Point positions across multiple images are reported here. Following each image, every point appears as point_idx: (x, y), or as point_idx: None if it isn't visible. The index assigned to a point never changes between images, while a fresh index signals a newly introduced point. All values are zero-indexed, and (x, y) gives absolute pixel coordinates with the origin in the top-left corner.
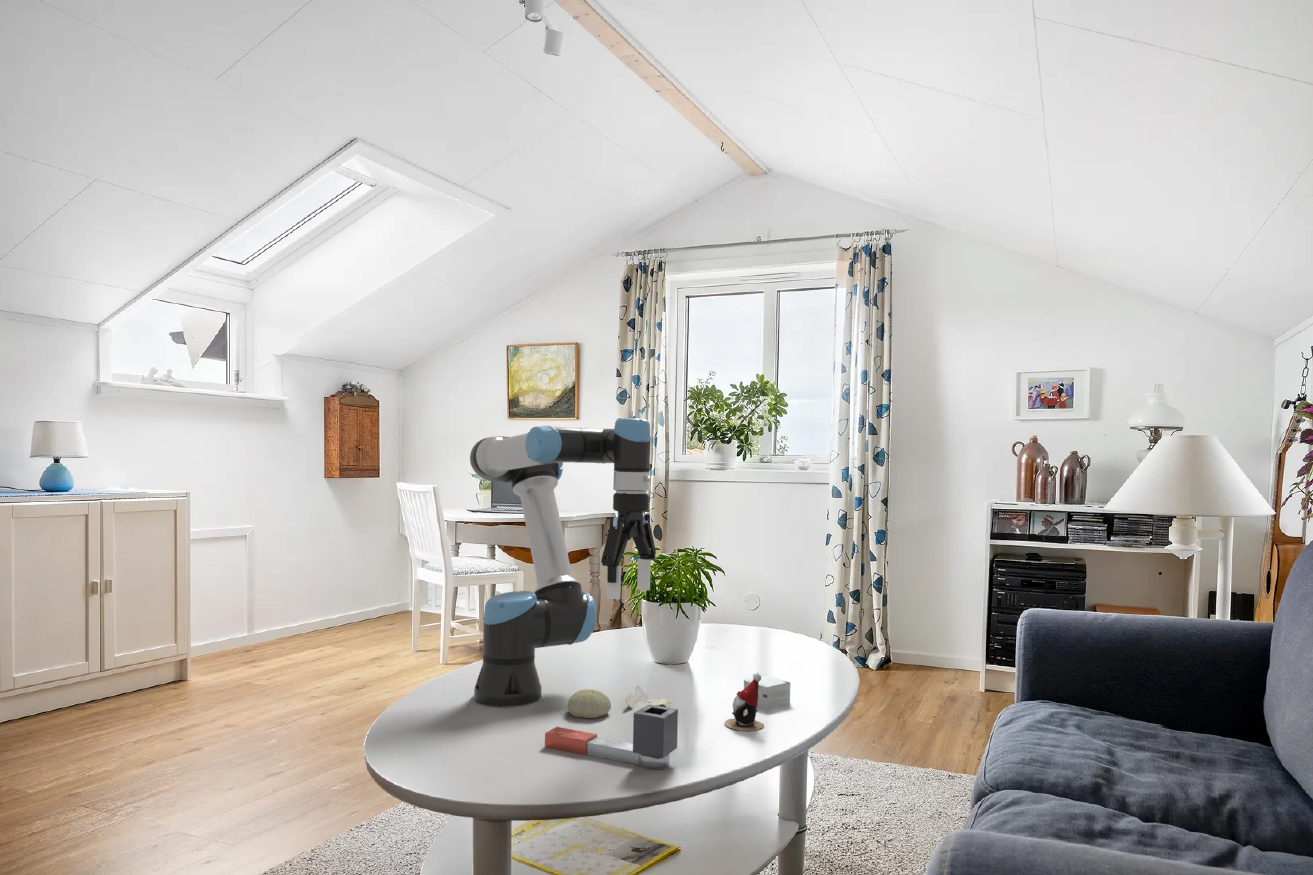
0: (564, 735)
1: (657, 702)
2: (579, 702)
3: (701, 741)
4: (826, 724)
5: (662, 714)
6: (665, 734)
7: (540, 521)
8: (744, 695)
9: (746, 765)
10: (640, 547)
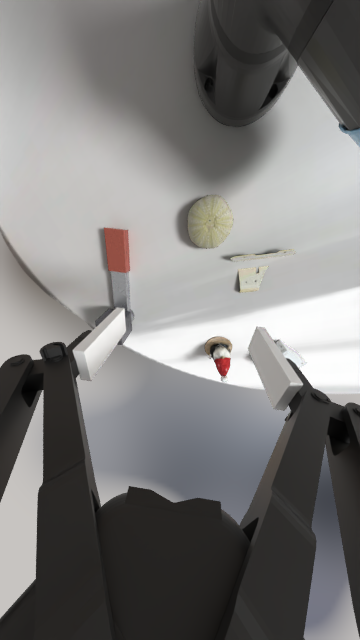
0: (108, 248)
1: (250, 281)
2: (190, 220)
3: (175, 330)
4: (233, 384)
5: None
6: None
7: None
8: (216, 362)
9: (148, 357)
10: (283, 439)
